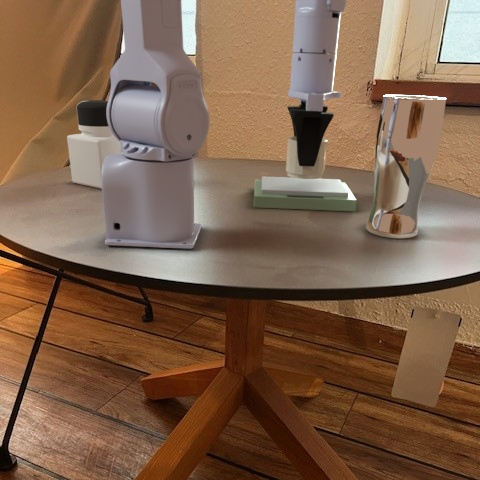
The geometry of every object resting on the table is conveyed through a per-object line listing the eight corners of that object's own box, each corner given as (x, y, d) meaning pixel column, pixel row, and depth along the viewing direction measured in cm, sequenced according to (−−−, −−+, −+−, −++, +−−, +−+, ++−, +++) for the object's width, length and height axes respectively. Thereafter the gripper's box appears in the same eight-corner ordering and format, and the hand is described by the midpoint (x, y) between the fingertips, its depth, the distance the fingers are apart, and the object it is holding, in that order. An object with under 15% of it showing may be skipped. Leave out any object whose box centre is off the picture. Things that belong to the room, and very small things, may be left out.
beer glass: (351, 224, 63) (369, 94, 56) (398, 221, 65) (421, 95, 58) (382, 242, 57) (407, 99, 50) (433, 237, 59) (463, 99, 53)
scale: (253, 207, 69) (254, 191, 68) (254, 189, 79) (255, 175, 78) (355, 211, 69) (357, 195, 68) (344, 193, 79) (345, 178, 78)
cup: (286, 178, 70) (288, 141, 68) (284, 171, 75) (287, 135, 73) (325, 180, 70) (329, 142, 68) (321, 172, 75) (325, 137, 72)
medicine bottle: (136, 182, 81) (131, 101, 75) (103, 190, 76) (95, 103, 70) (105, 176, 84) (98, 98, 79) (71, 183, 79) (61, 100, 74)
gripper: (354, 54, 59) (339, 173, 65) (337, 55, 72) (327, 154, 78) (293, 52, 59) (285, 170, 65) (288, 53, 72) (281, 152, 78)
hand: (304, 161), depth 71 cm, fingers closed on cup, 5 cm apart
